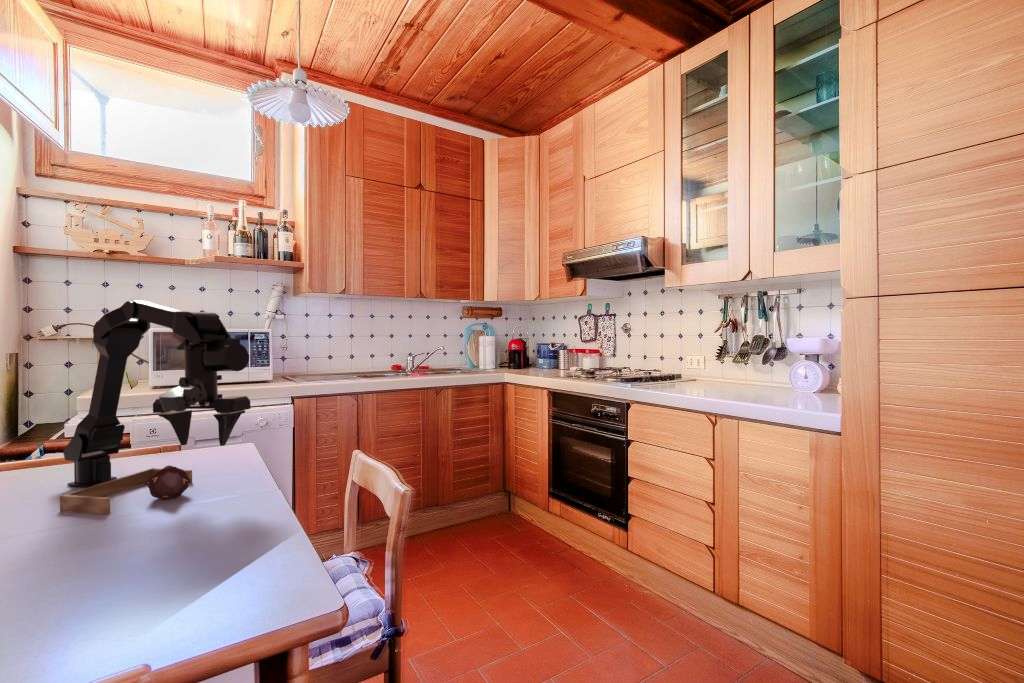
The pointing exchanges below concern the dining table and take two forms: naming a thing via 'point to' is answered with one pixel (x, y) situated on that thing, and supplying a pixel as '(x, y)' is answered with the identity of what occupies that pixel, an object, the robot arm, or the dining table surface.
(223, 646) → the dining table surface
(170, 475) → the icecream
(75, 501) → the holder
